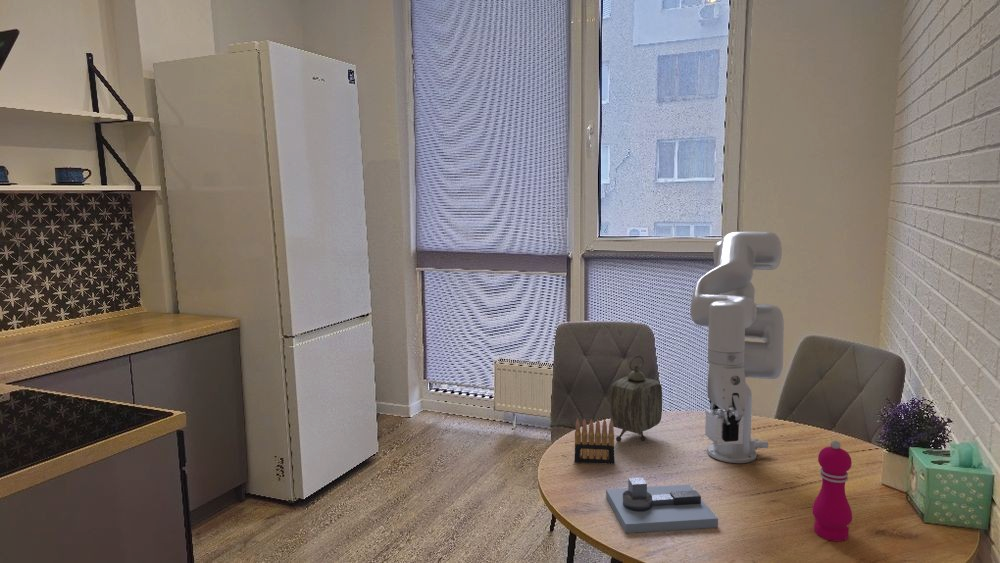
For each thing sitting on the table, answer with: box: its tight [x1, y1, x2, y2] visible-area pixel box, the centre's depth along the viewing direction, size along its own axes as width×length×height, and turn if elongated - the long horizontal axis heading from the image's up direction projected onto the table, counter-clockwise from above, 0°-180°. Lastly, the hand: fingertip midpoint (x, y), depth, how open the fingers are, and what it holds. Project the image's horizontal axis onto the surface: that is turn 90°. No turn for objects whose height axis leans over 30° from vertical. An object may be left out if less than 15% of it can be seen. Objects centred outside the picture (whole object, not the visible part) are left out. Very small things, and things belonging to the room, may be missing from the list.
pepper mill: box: [811, 439, 853, 542], centre depth 126 cm, size 7×7×20 cm
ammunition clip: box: [573, 417, 616, 465], centre depth 164 cm, size 11×2×12 cm, turn 81°
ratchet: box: [623, 477, 702, 512], centre depth 137 cm, size 17×6×6 cm, turn 95°
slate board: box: [605, 484, 719, 534], centre depth 137 cm, size 20×16×2 cm
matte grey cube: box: [704, 408, 744, 445], centre depth 137 cm, size 6×6×6 cm
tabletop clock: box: [609, 354, 663, 442], centre depth 178 cm, size 14×9×25 cm, turn 135°
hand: (723, 434), depth 138 cm, fingers closed on matte grey cube, 6 cm apart
